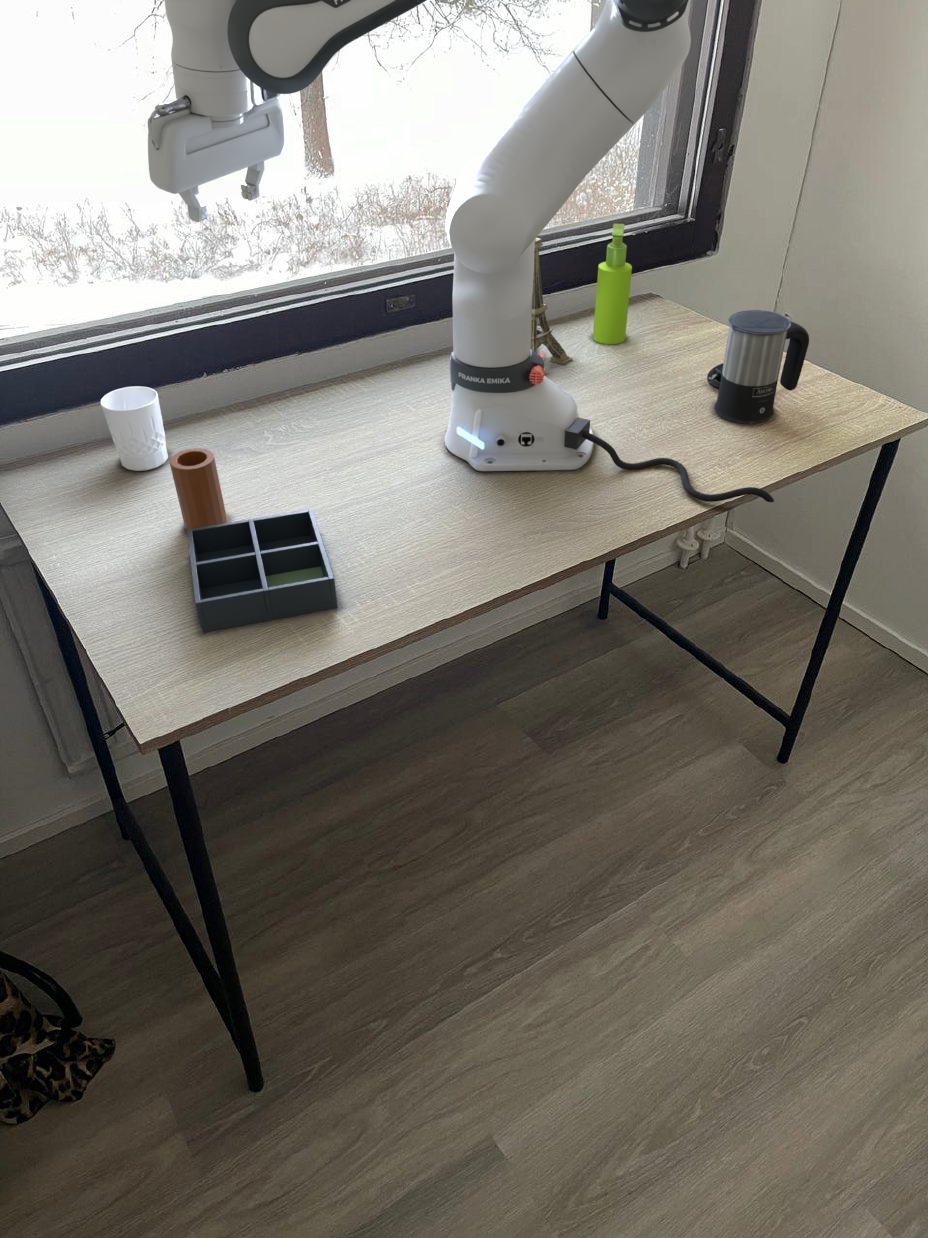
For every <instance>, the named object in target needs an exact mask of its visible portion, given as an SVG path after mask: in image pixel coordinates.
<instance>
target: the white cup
mask: <svg viewBox="0 0 928 1238" xmlns="http://www.w3.org/2000/svg"><path fill="white" fill-rule="evenodd" d="M99 403H100V407H101V409H102V413H103V415H104V418H105V421H106V424H107V427H108V431H109V434H110V436H111V439H112V442H113V444H114V447H115V449H116V450H117V453H118V458H119V460H120V463H121V466H122V467H123V468H124V469H127V470H130V471H134V472H142V471H149V470H153V469H156V468H158V467H160V466H162V465H164V464H165V463H166V462H167V460H168V458H169V455H168V450H167V443H166V439H167V438H166V433H165V429H164V420H163V416H162V410H161V404H160V399H159V393H158V392H157V391H156V390H155V389H154V388H152V387H148V386H142V385H141V386H139V385H135V386H133V385H132V386H125V387H121V388H117V389H113V390H111V391H109V392H108V393H105V394H104V396H103V397H101V399H100V402H99Z"/></svg>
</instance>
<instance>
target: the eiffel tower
mask: <svg viewBox="0 0 928 1238" xmlns="http://www.w3.org/2000/svg"><path fill="white" fill-rule="evenodd" d="M542 240H543V239H542V238H539V237H536V238H535V249H534V272H533V294H532V324H531V349H532V350H534V351H535V352H536V353H537V354H538V355H539V353H538V351H537V350H538V349H539V348H540V347H541V346H542V345H543V346H545V347H546V349H547V350H548V352H549V353H550V354H551V356H550V357H549V358H550V359H549V360H550V361H551V362H553V363H556V364H558V365H559V364H560V365H563V366H564V365H565V364H567V363H569V362H571V361H572V360H573V357H571V356H569V355H567V352H566V351H565V349H564V348H563V346H562V345H561V343H560V342H559V341H558V340H557V339H556V337H554V335H553V334H552V332H553V330H554V329H553V328H550V326H549V324H548V321H547V315H546V311H547V310H548V309H549V308H548V304H547V303H544V295H543V287H542V286H543V285H542V274H541V263H540V262H541V261H540V248H541V247H542V246H544V243H542ZM538 320H539V325H538Z"/></svg>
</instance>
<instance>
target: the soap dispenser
mask: <svg viewBox="0 0 928 1238" xmlns="http://www.w3.org/2000/svg"><path fill="white" fill-rule="evenodd" d="M624 232H625V223H613V225H612V233H611V237H612V241H611V242H609V243H608V244H607V246H606V256H605V261H601V262H600V263H599V264H598V267H597V280H596V293H595V305H594V318H593V331H592V339H593V340H594V341H595V342H597V343H599V344H603V345H617V344H621V343H624V341H625V340H626V332H627V323H628V314H629V313H628V312H629V303H630V291H631V283H632V272H633V266H632V264H631V263H628V262H626V260H627V250H628V249H627V248H628V246H627V244H626V243H624V242H623V238H624V235H625V234H624Z"/></svg>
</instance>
